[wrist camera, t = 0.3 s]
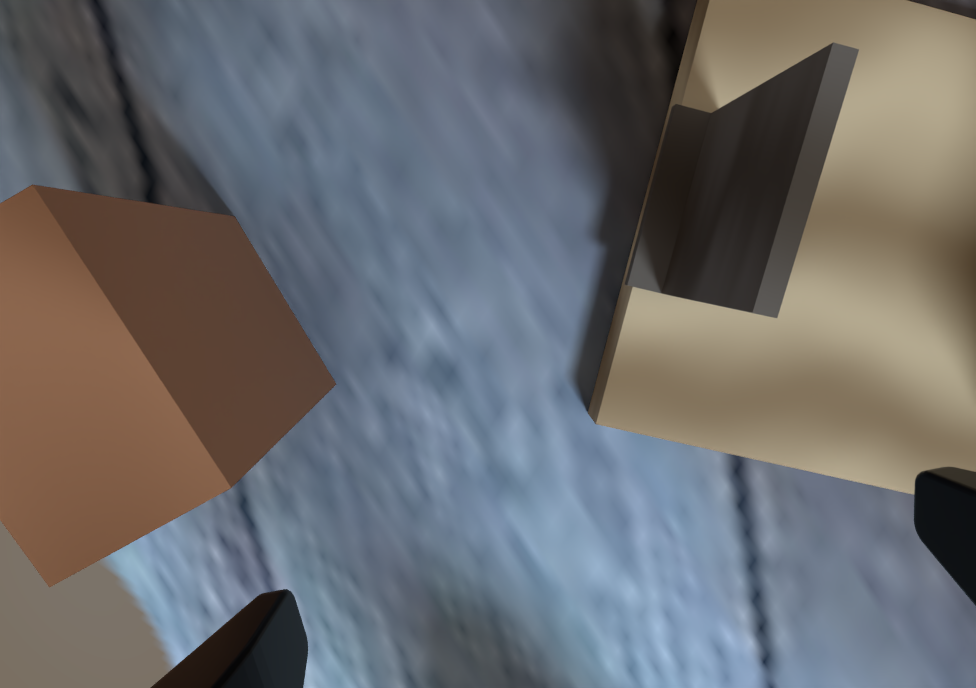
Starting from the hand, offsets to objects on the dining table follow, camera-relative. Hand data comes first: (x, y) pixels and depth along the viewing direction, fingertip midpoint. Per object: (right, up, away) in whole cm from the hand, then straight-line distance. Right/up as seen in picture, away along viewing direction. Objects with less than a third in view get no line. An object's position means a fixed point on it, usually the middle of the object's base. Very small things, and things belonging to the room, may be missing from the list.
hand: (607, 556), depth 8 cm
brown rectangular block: (-11, +3, +13) cm, 18 cm away
